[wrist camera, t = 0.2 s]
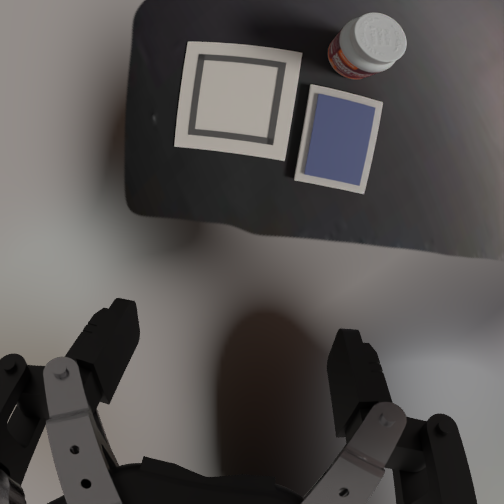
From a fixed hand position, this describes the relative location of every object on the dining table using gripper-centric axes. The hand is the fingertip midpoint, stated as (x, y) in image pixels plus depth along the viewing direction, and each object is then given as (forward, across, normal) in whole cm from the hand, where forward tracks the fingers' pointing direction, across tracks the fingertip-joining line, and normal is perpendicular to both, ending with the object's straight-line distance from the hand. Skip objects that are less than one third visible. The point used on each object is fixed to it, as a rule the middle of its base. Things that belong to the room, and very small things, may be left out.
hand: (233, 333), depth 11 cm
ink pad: (+29, -9, -6) cm, 31 cm away
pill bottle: (+29, -9, -17) cm, 35 cm away
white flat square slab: (+29, +4, -9) cm, 31 cm away
